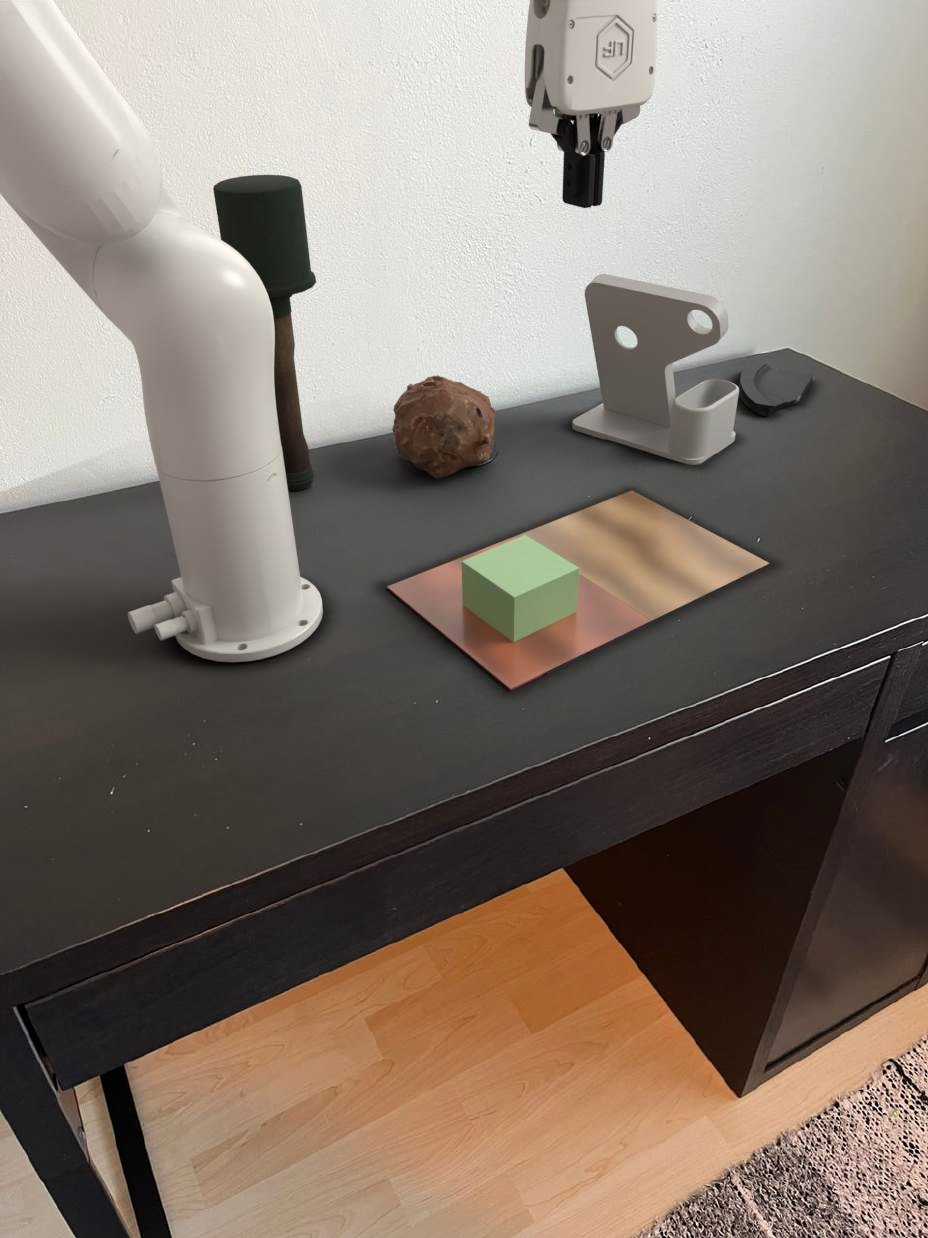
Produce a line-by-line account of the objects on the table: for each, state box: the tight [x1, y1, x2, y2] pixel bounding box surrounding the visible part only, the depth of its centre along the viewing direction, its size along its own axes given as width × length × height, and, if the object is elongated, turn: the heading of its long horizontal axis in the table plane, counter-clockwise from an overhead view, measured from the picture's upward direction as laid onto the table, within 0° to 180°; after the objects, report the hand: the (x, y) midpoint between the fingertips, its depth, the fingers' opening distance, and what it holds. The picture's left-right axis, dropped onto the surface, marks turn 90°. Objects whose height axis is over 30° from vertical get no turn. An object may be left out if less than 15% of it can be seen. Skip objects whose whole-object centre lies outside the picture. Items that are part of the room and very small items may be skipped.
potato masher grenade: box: [212, 174, 317, 492], centre depth 94 cm, size 8×9×30 cm
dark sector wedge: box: [738, 360, 813, 418], centre depth 120 cm, size 8×14×2 cm, turn 150°
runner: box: [386, 490, 770, 691], centre depth 87 cm, size 30×18×1 cm, turn 126°
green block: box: [462, 535, 579, 642], centre depth 81 cm, size 7×7×4 cm
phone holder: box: [571, 273, 740, 466], centre depth 106 cm, size 17×10×18 cm, turn 49°
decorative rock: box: [391, 375, 497, 479], centre depth 103 cm, size 13×11×10 cm
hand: (581, 203), depth 80 cm, fingers closed
